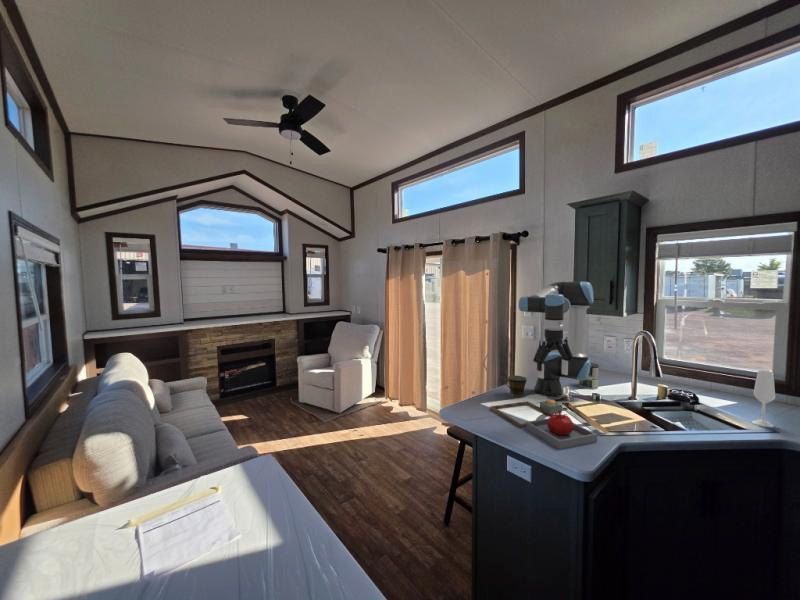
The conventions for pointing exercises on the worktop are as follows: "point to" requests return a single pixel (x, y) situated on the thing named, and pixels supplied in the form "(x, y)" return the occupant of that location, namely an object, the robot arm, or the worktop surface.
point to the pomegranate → (560, 424)
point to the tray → (561, 442)
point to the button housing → (551, 407)
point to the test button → (550, 402)
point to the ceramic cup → (516, 385)
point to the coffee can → (591, 378)
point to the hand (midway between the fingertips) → (552, 376)
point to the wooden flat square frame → (523, 425)
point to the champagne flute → (764, 393)
